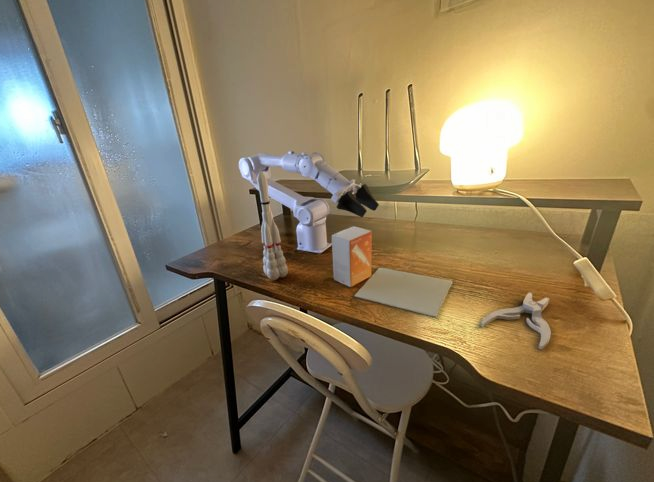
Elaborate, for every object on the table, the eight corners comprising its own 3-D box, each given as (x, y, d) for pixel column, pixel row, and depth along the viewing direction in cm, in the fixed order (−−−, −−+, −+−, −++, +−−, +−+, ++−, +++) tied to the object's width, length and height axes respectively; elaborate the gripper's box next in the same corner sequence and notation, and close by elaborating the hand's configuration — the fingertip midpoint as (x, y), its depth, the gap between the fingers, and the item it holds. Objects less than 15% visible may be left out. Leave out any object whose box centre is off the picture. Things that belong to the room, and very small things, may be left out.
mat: (354, 296, 73) (354, 295, 73) (379, 268, 84) (379, 267, 83) (435, 317, 62) (435, 316, 62) (452, 281, 73) (452, 280, 73)
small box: (350, 288, 76) (349, 240, 71) (333, 279, 81) (330, 234, 76) (372, 276, 80) (372, 230, 74) (354, 269, 85) (353, 225, 79)
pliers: (480, 318, 58) (510, 287, 65) (478, 325, 58) (509, 293, 66) (545, 342, 50) (571, 303, 58) (543, 350, 51) (568, 310, 59)
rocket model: (292, 271, 89) (279, 166, 76) (284, 284, 83) (268, 172, 70) (269, 270, 91) (253, 168, 78) (260, 282, 85) (240, 174, 72)
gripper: (326, 173, 79) (366, 204, 75) (353, 166, 89) (389, 193, 85) (315, 195, 84) (352, 226, 80) (341, 186, 94) (375, 213, 90)
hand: (370, 210), depth 83 cm, fingers open, 7 cm apart
